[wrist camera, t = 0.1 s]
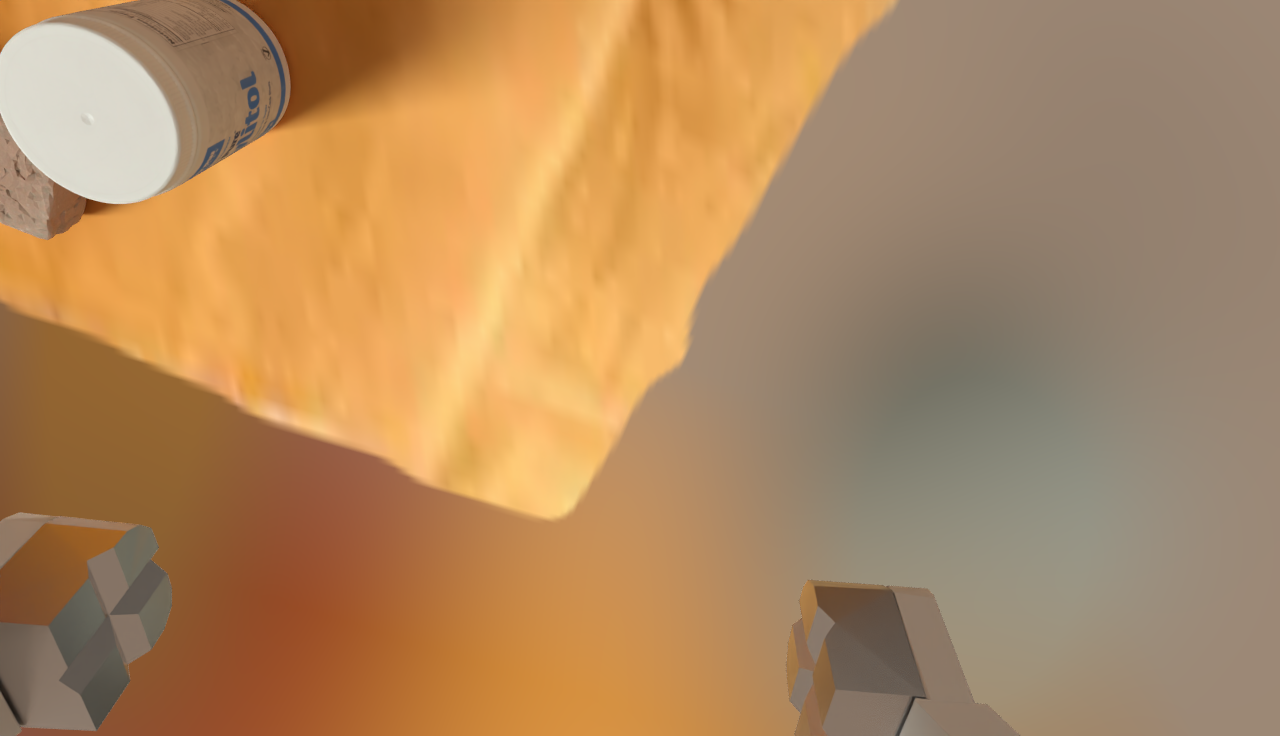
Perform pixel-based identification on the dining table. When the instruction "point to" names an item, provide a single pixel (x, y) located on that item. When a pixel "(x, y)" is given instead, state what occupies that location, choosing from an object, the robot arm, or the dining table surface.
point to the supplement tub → (141, 93)
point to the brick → (33, 194)
